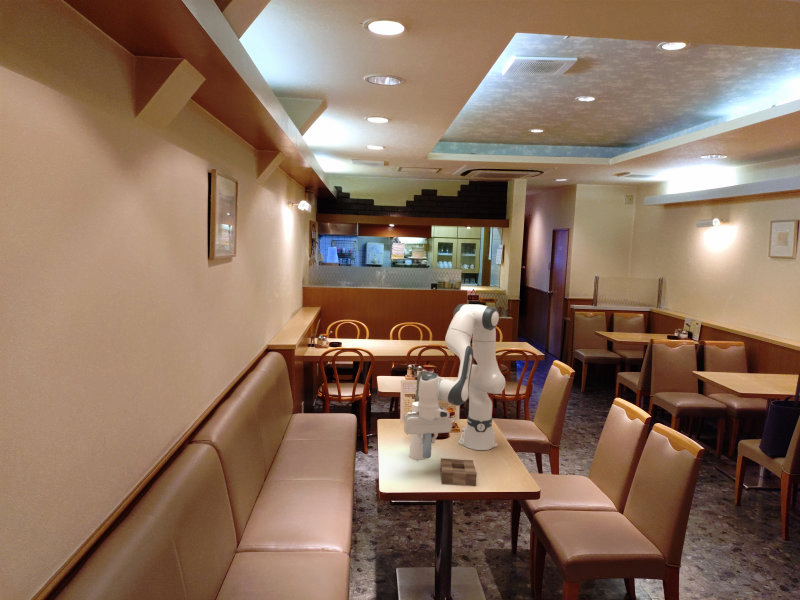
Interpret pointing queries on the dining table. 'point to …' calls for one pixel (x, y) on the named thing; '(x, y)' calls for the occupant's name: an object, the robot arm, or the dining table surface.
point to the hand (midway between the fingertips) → (427, 442)
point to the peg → (427, 445)
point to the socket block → (458, 472)
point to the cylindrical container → (416, 441)
